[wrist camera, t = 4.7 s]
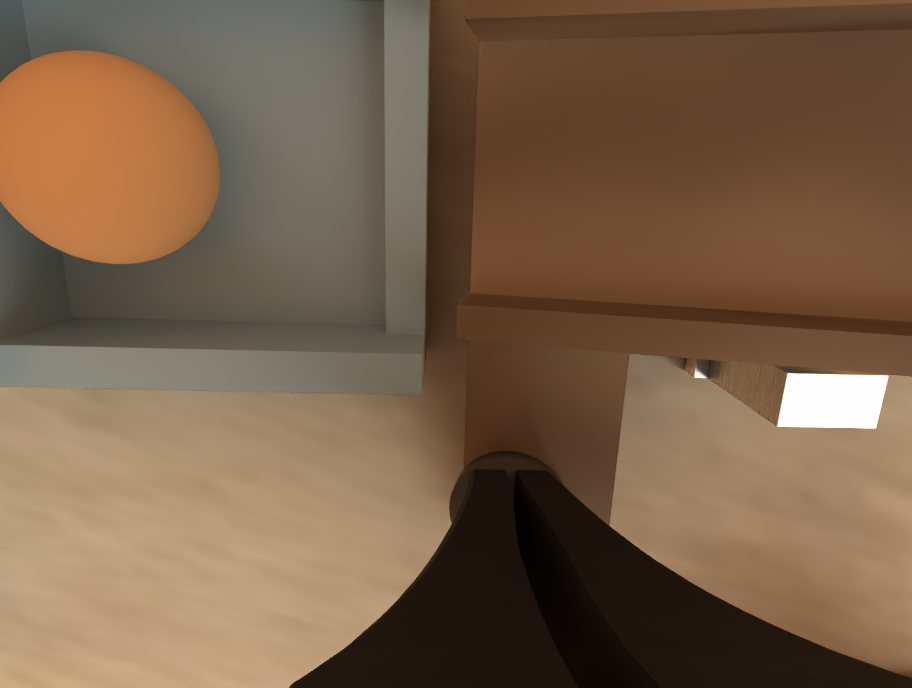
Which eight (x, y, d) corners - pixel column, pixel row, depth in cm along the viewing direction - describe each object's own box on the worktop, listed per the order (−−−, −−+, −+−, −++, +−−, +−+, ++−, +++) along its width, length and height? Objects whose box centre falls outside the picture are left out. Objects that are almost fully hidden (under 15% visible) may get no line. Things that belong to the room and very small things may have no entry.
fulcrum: (785, 373, 13) (892, 428, 10) (684, 371, 13) (760, 426, 10) (864, -34, 11) (1035, -128, 8) (744, -39, 11) (866, -136, 8)
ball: (262, 258, 11) (136, 282, 8) (117, 250, 12) (-56, 270, 9) (250, 74, 10) (103, 16, 7) (94, 77, 11) (-109, 24, 8)
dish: (425, 357, 13) (418, 415, 9) (47, 348, 12) (-101, 406, 9) (431, -40, 11) (424, -151, 7) (-23, -58, 10) (-252, -182, 7)
